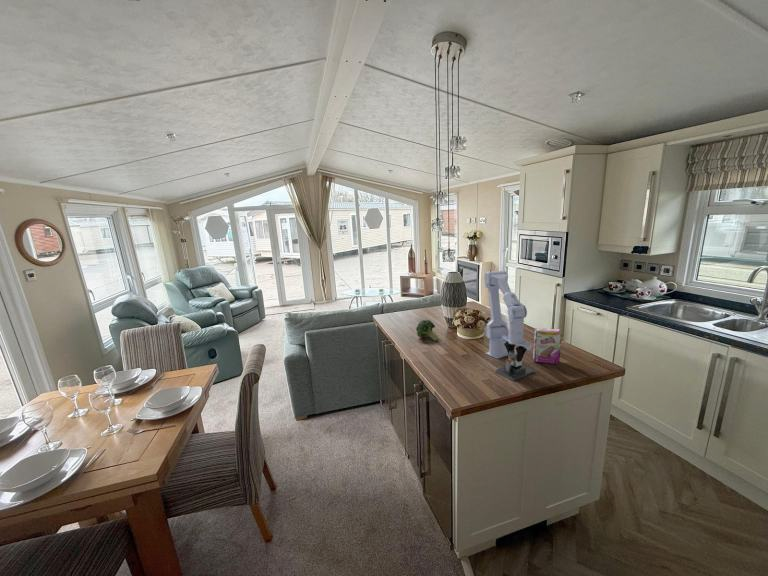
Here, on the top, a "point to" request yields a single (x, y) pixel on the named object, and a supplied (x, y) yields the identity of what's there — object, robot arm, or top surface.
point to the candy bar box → (547, 345)
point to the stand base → (514, 371)
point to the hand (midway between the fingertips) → (515, 359)
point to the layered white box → (514, 358)
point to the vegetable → (426, 329)
